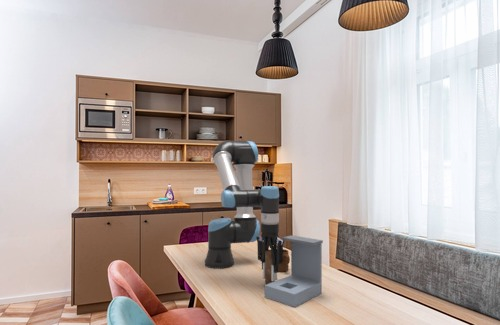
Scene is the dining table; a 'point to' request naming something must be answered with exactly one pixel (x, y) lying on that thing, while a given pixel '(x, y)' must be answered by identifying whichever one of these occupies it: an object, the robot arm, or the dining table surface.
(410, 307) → the dining table surface
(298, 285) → the socket station
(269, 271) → the peg
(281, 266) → the mug
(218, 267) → the robot arm
